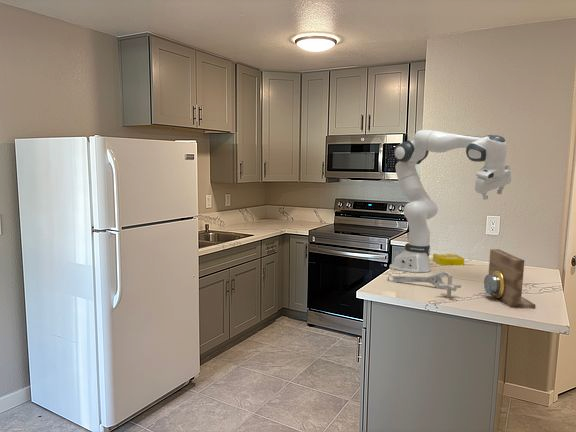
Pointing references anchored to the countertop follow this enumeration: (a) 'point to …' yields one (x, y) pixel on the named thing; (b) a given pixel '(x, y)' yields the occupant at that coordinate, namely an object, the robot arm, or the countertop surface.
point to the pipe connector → (449, 285)
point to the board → (510, 277)
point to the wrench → (421, 278)
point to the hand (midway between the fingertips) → (492, 196)
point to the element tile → (448, 259)
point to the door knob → (495, 284)
